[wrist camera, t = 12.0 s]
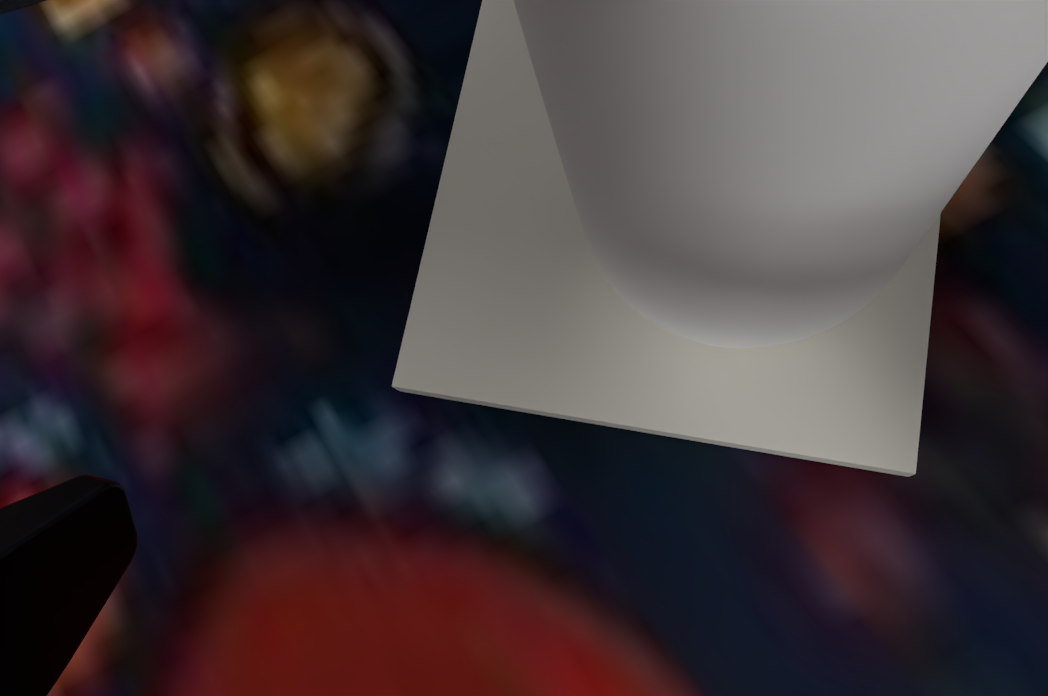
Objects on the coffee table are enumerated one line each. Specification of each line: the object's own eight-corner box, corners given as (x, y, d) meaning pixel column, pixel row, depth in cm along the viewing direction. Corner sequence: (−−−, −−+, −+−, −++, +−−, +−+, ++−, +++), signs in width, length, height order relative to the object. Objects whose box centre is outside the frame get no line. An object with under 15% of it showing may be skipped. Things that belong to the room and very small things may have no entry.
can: (588, 366, 17) (379, -77, 5) (575, 74, 18) (395, -739, 7) (940, 343, 16) (1622, -273, 4) (893, 35, 17) (1291, -1000, 6)
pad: (909, 476, 16) (916, 473, 15) (399, 391, 18) (391, 386, 17) (955, 1, 18) (962, -14, 17) (495, -23, 20) (491, -38, 20)
